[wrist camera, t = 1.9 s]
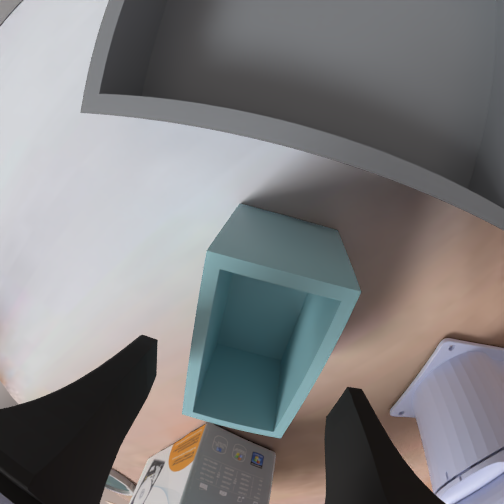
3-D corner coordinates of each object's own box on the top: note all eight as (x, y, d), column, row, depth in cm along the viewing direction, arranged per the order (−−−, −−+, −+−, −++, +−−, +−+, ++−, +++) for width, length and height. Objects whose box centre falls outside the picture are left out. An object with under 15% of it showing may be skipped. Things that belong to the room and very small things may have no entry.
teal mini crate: (337, 230, 14) (361, 291, 9) (286, 360, 18) (280, 438, 13) (239, 203, 15) (206, 250, 9) (210, 340, 18) (181, 414, 13)
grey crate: (497, 0, 7) (537, -18, 3) (463, 205, 13) (510, 234, 9) (201, -87, 8) (177, -126, 4) (134, 112, 13) (80, 112, 9)
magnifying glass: (238, 517, 36) (236, 526, 35) (84, 470, 39) (80, 477, 37) (241, 497, 31) (239, 508, 29) (58, 438, 34) (53, 446, 32)
